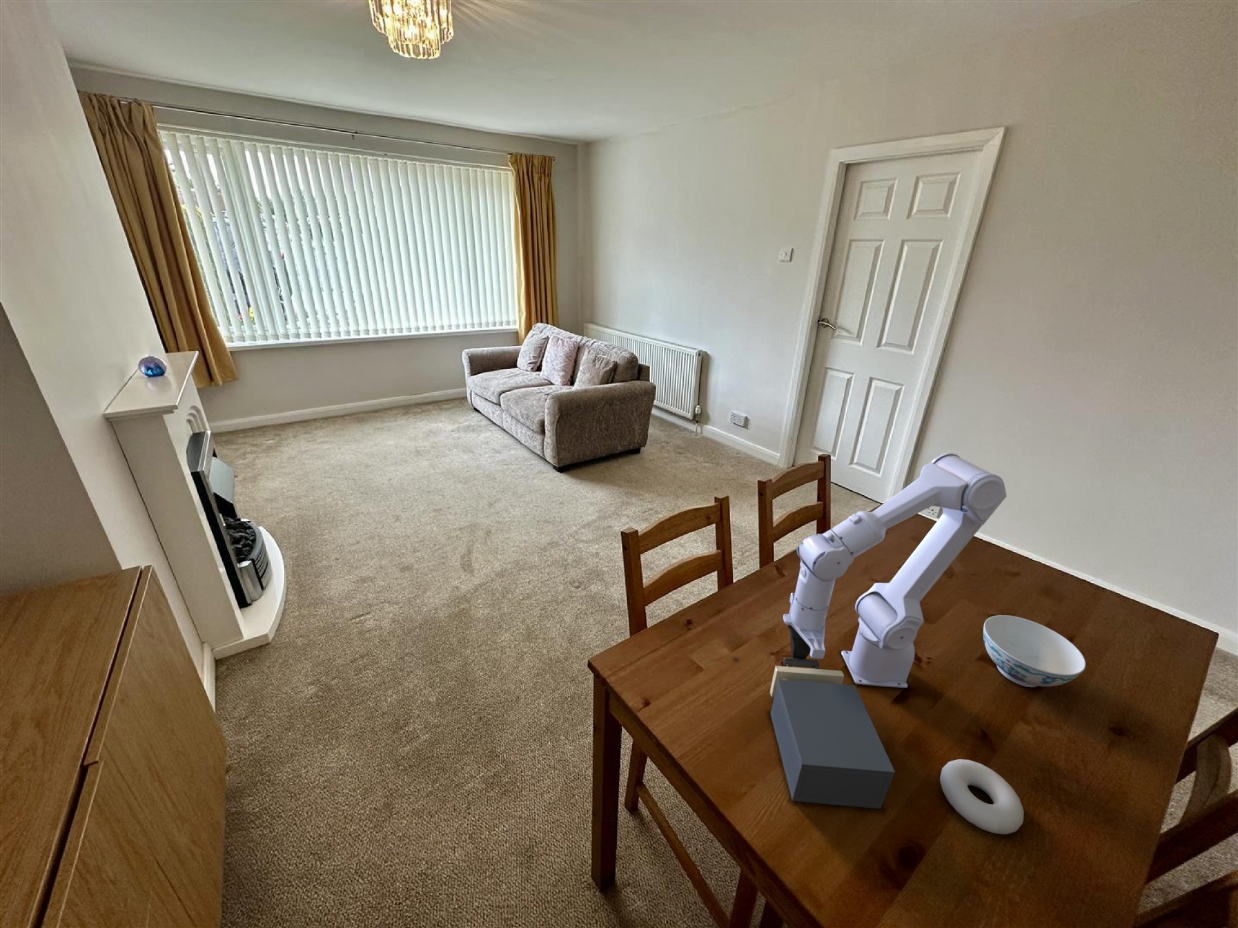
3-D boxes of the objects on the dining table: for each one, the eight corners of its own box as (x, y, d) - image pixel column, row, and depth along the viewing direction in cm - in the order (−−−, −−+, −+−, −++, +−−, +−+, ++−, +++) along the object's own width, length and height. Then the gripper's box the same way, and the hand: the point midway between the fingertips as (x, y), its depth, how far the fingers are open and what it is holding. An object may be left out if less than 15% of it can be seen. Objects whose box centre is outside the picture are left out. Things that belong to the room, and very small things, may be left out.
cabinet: (770, 713, 83) (777, 679, 80) (844, 719, 83) (855, 685, 79) (792, 800, 70) (802, 764, 67) (880, 808, 69) (895, 772, 66)
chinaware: (1090, 704, 87) (1109, 673, 84) (1013, 707, 86) (1029, 676, 83) (1021, 643, 100) (1035, 614, 97) (953, 645, 99) (965, 615, 96)
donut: (981, 766, 76) (922, 770, 75) (989, 752, 74) (928, 755, 73) (1037, 837, 66) (970, 842, 66) (1047, 822, 65) (979, 826, 64)
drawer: (765, 673, 90) (770, 647, 88) (826, 677, 90) (833, 652, 87) (788, 764, 74) (795, 736, 72) (864, 770, 73) (874, 742, 71)
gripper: (778, 572, 91) (767, 628, 96) (799, 627, 77) (785, 688, 83) (816, 575, 90) (803, 631, 96) (844, 630, 77) (827, 691, 82)
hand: (797, 658), depth 89 cm, fingers closed
